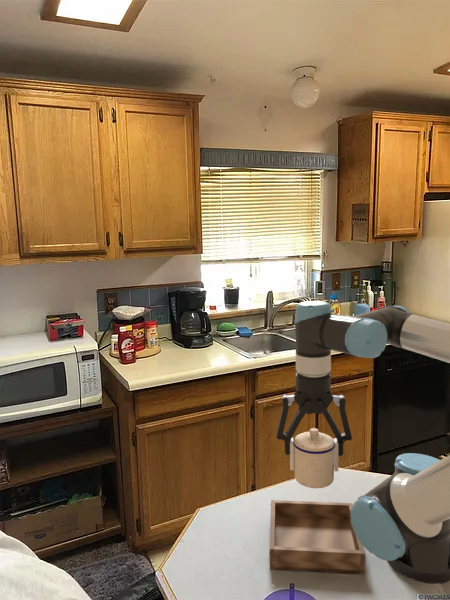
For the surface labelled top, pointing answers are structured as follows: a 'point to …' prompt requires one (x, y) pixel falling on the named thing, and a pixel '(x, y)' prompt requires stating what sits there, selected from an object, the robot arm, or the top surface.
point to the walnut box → (314, 538)
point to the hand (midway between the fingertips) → (313, 467)
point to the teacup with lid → (314, 459)
